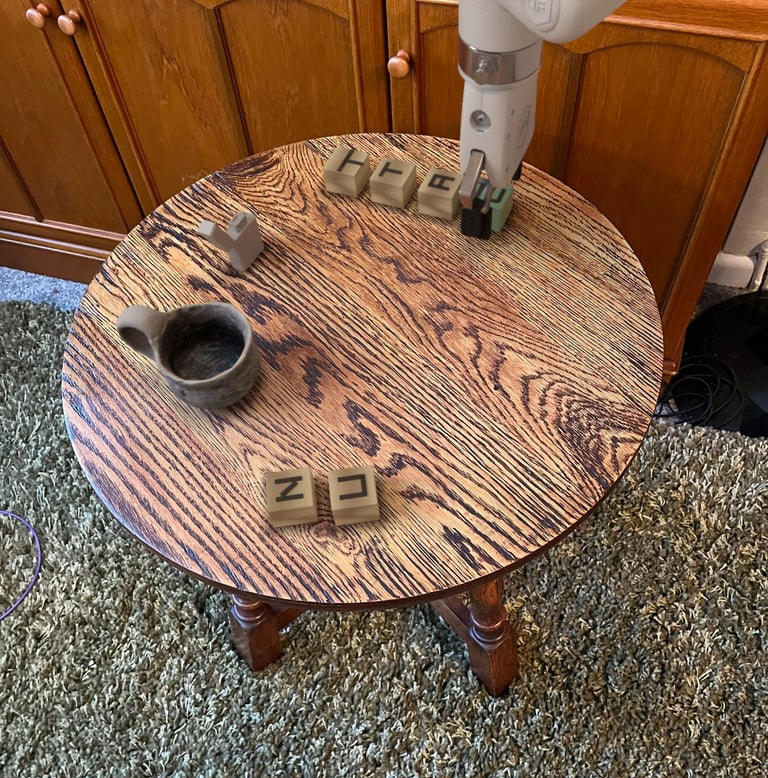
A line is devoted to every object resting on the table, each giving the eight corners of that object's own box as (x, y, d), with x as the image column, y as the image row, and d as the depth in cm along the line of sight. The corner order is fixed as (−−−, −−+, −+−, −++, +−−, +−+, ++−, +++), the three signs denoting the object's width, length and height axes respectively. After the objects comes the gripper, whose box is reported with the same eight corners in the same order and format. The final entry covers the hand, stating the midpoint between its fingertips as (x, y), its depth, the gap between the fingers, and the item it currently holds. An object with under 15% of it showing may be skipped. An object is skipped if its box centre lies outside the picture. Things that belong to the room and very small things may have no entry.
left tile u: (375, 481, 70) (372, 463, 67) (380, 519, 68) (377, 503, 66) (332, 487, 70) (327, 470, 68) (336, 526, 68) (331, 509, 66)
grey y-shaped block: (252, 242, 86) (234, 181, 79) (265, 246, 86) (248, 186, 79) (216, 285, 83) (194, 226, 76) (229, 290, 83) (209, 231, 76)
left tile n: (315, 483, 71) (309, 465, 68) (318, 521, 69) (313, 505, 66) (272, 489, 71) (265, 472, 68) (274, 528, 69) (267, 511, 66)
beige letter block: (372, 176, 90) (370, 152, 87) (358, 198, 88) (355, 175, 85) (340, 168, 91) (337, 145, 88) (326, 190, 89) (322, 167, 86)
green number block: (512, 208, 86) (514, 184, 83) (500, 232, 84) (501, 209, 81) (478, 200, 87) (479, 176, 84) (465, 223, 85) (466, 200, 82)
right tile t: (417, 186, 88) (416, 162, 86) (403, 209, 87) (402, 186, 84) (385, 178, 89) (383, 155, 87) (371, 201, 88) (368, 178, 85)
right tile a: (464, 197, 87) (465, 173, 84) (451, 220, 85) (451, 197, 83) (431, 189, 88) (431, 166, 85) (418, 213, 86) (417, 189, 84)
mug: (263, 425, 74) (237, 357, 65) (137, 428, 75) (95, 362, 66) (272, 346, 79) (250, 274, 70) (153, 350, 80) (116, 279, 71)
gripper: (508, 116, 64) (497, 269, 79) (570, 1, 71) (549, 162, 86) (424, 99, 66) (429, 252, 81) (493, -10, 73) (486, 149, 88)
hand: (491, 205), depth 84 cm, fingers open, 9 cm apart
